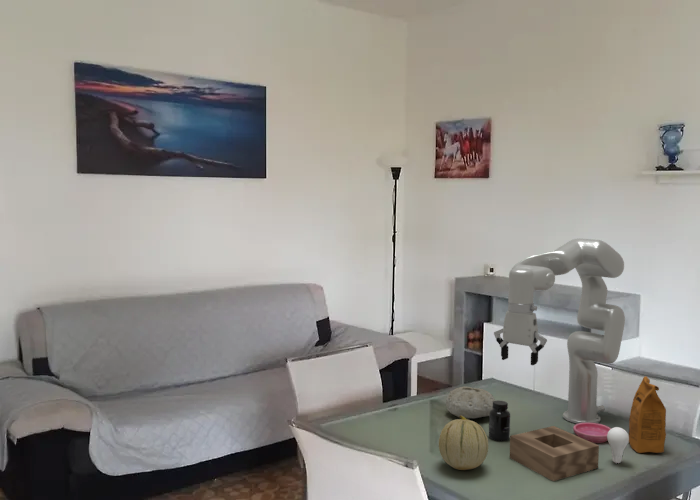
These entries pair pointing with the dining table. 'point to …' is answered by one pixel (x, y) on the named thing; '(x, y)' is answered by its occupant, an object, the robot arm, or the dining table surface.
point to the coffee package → (647, 420)
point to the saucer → (592, 432)
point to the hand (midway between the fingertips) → (519, 361)
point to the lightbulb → (617, 442)
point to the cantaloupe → (463, 444)
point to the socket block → (554, 452)
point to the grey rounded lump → (469, 402)
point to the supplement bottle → (499, 421)
